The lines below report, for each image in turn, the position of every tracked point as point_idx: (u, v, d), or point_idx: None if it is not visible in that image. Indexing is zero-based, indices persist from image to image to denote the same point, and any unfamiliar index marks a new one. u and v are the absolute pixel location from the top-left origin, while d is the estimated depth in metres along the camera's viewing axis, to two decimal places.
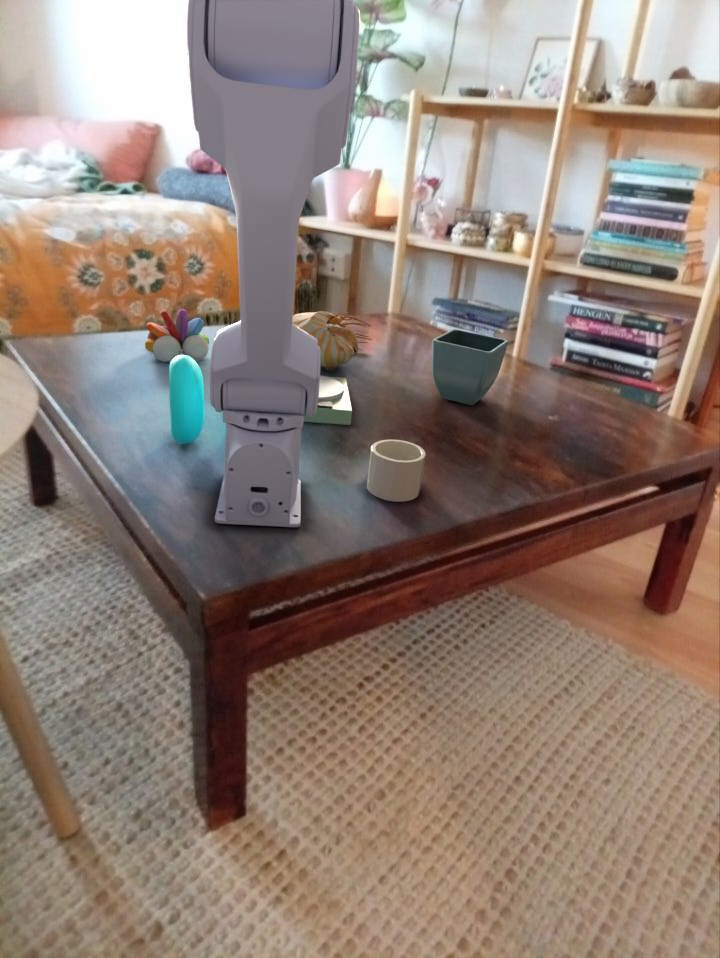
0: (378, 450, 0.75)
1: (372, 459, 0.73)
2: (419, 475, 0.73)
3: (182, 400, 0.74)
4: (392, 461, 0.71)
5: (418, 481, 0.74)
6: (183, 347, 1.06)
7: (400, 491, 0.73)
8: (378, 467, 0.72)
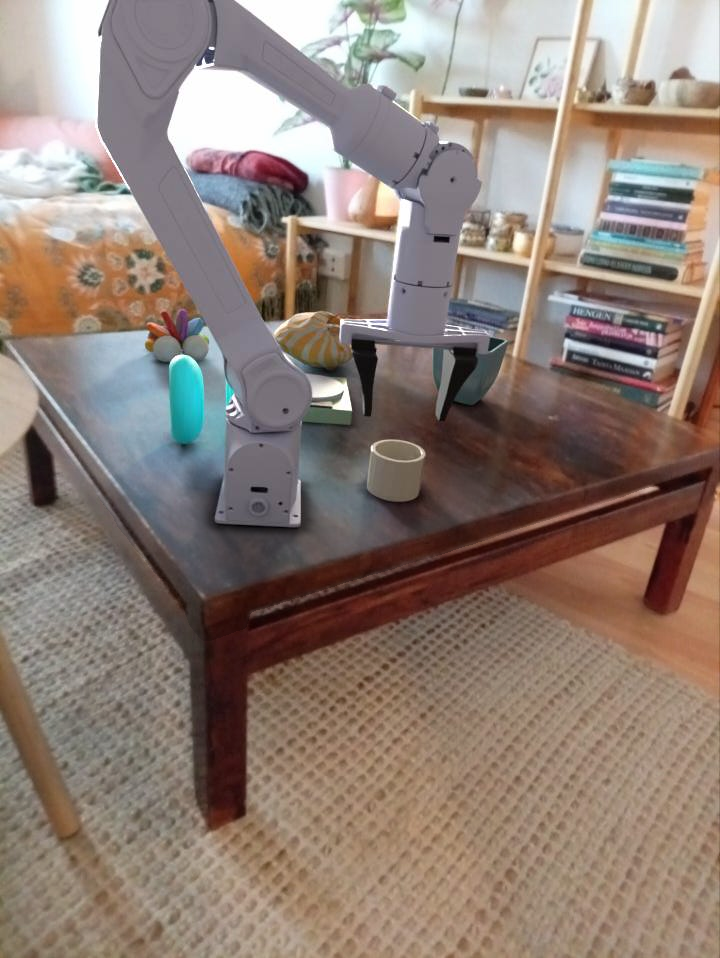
0: (378, 450, 0.75)
1: (372, 459, 0.73)
2: (419, 475, 0.73)
3: (182, 400, 0.74)
4: (392, 461, 0.71)
5: (418, 481, 0.74)
6: (183, 347, 1.06)
7: (400, 491, 0.73)
8: (378, 467, 0.72)
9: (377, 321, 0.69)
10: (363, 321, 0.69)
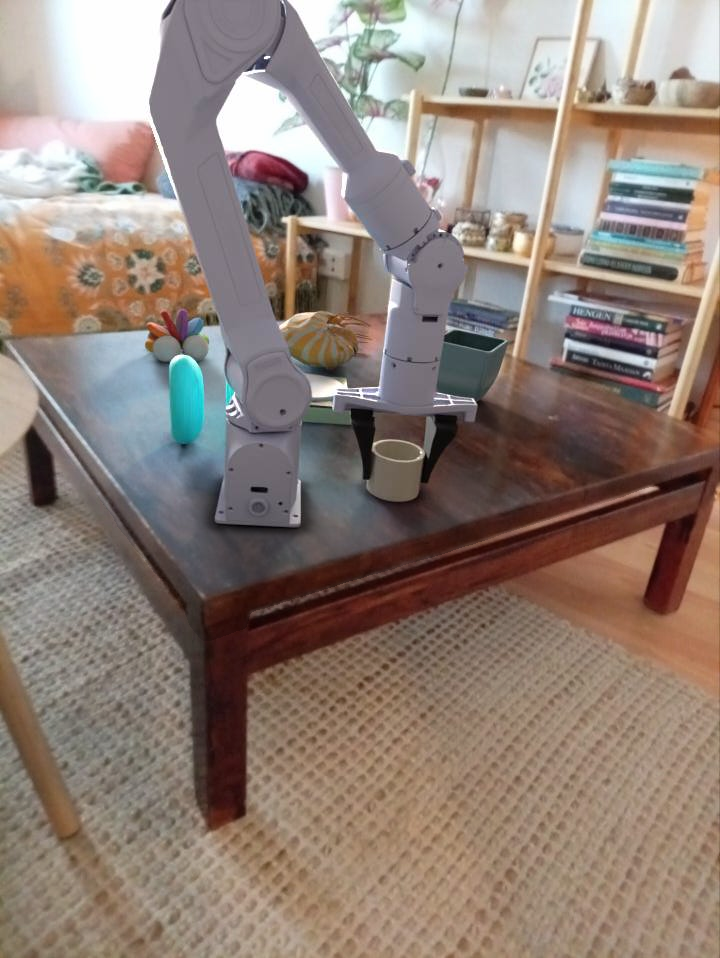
0: (378, 450, 0.75)
1: (372, 459, 0.73)
2: (419, 475, 0.73)
3: (182, 400, 0.74)
4: (392, 461, 0.71)
5: (418, 481, 0.74)
6: (183, 347, 1.06)
7: (400, 491, 0.73)
8: (378, 467, 0.72)
9: (369, 389, 0.72)
10: (356, 390, 0.72)
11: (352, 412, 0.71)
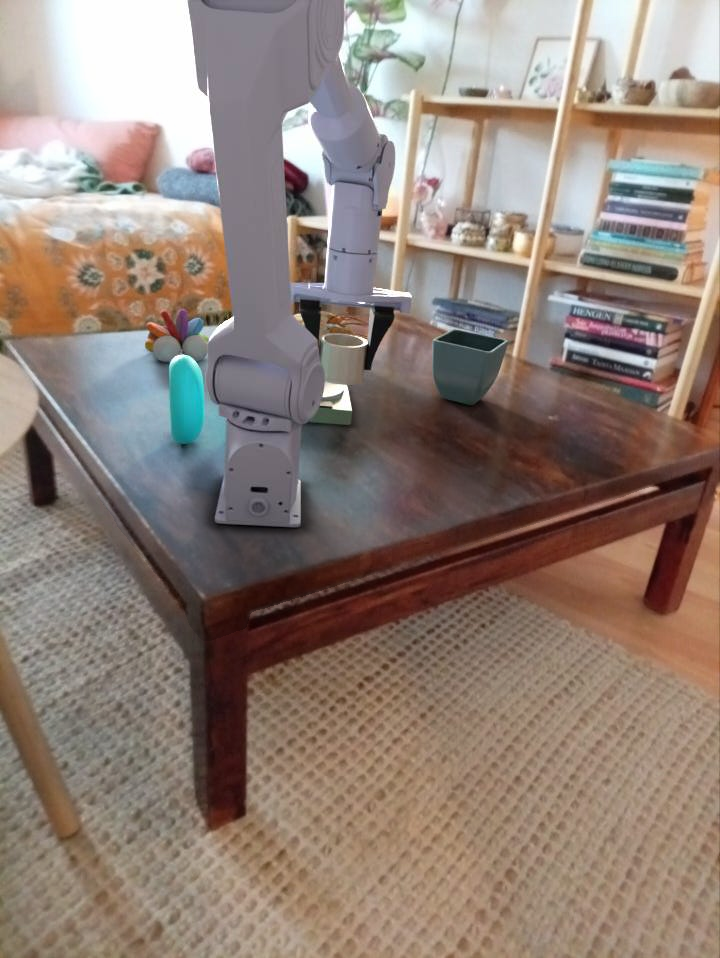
0: (327, 342, 0.85)
1: (320, 347, 0.83)
2: (361, 361, 0.83)
3: (181, 400, 0.74)
4: (336, 346, 0.81)
5: (361, 367, 0.83)
6: (183, 347, 1.06)
7: (344, 375, 0.83)
8: (325, 353, 0.82)
9: (317, 284, 0.82)
10: (305, 284, 0.82)
11: (301, 302, 0.80)
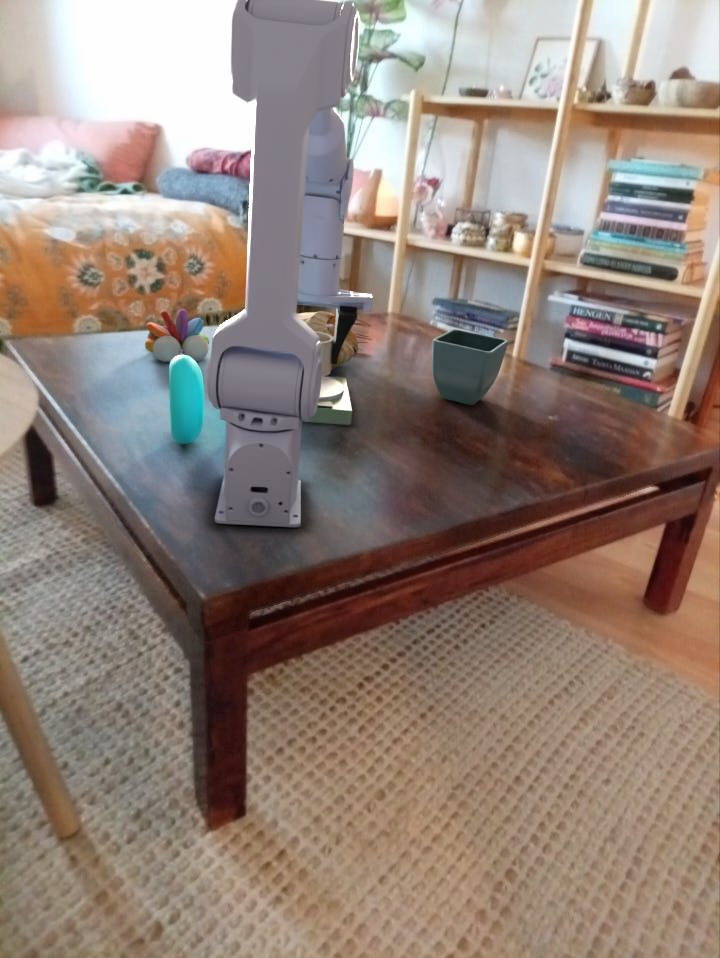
0: None
1: None
2: (328, 355, 0.92)
3: (181, 399, 0.74)
4: None
5: (328, 361, 0.92)
6: (183, 347, 1.06)
7: None
8: None
9: None
10: None
11: None
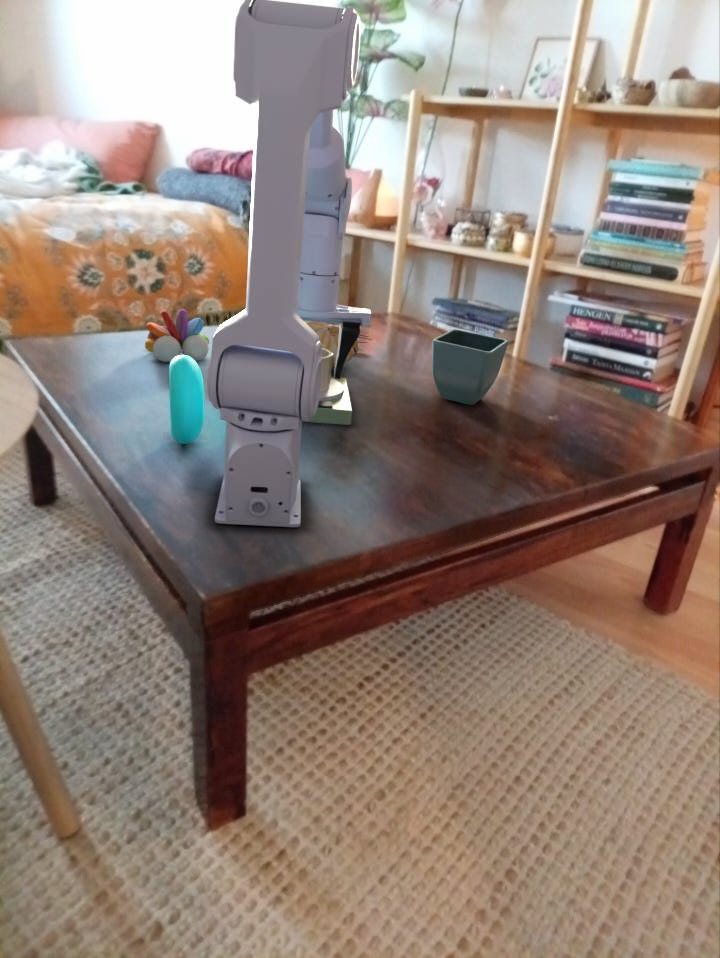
0: None
1: None
2: (327, 371, 0.93)
3: (181, 399, 0.74)
4: None
5: (326, 376, 0.93)
6: (183, 347, 1.06)
7: None
8: None
9: None
10: None
11: None
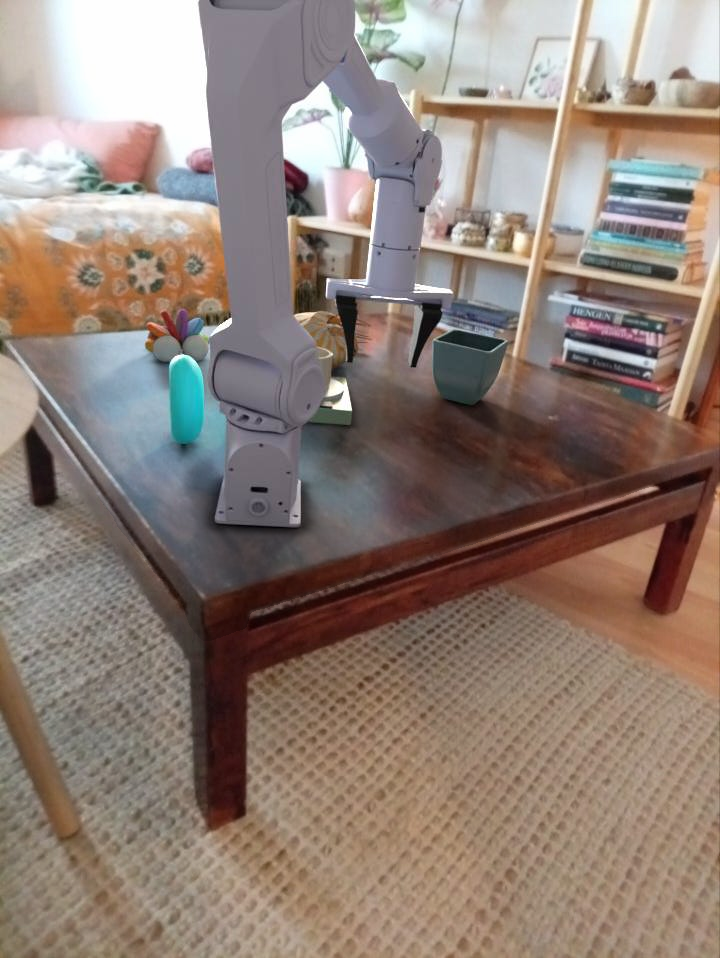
0: None
1: None
2: (327, 371, 0.93)
3: (181, 399, 0.74)
4: None
5: (326, 376, 0.93)
6: (183, 347, 1.06)
7: None
8: None
9: (357, 281, 0.82)
10: (346, 280, 0.81)
11: (337, 298, 0.80)
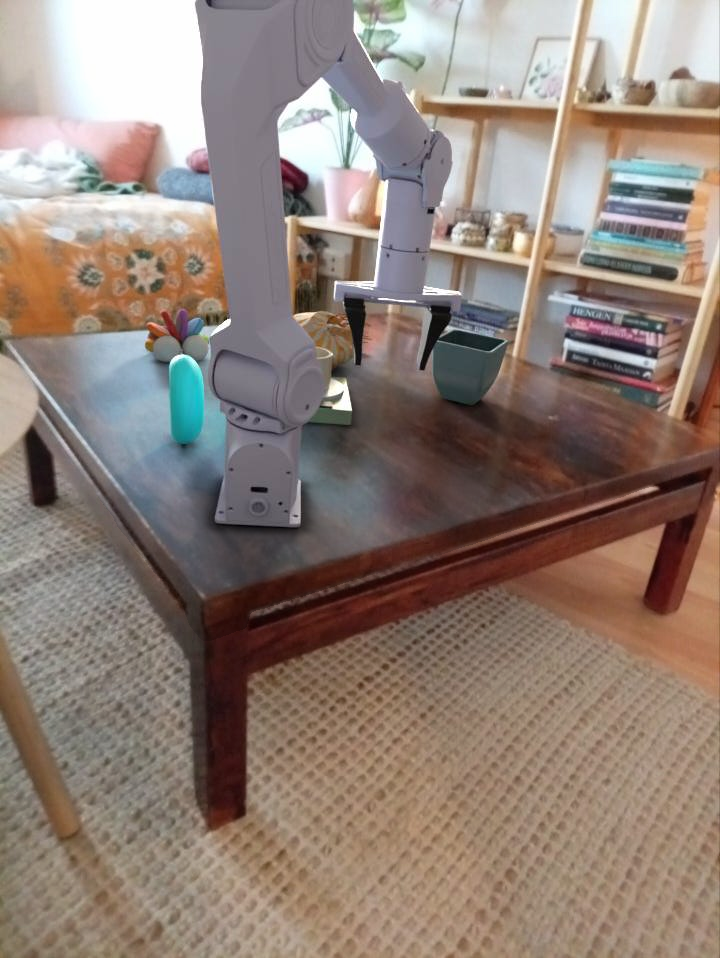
0: None
1: None
2: (327, 371, 0.93)
3: (181, 399, 0.74)
4: None
5: (326, 376, 0.93)
6: (183, 347, 1.06)
7: None
8: None
9: (366, 283, 0.81)
10: (354, 283, 0.81)
11: (345, 300, 0.79)
